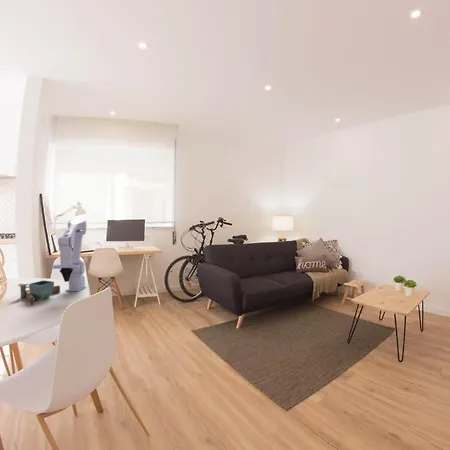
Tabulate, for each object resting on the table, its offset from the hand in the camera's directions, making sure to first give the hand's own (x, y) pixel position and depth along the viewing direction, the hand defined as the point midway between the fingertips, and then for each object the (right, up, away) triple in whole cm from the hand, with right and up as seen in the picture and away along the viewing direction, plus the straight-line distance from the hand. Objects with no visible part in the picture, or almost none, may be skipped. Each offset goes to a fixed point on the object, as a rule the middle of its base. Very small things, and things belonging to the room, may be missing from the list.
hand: (66, 281), depth 154 cm
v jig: (-19, -9, 0) cm, 21 cm away
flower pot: (-13, -10, -1) cm, 16 cm away
